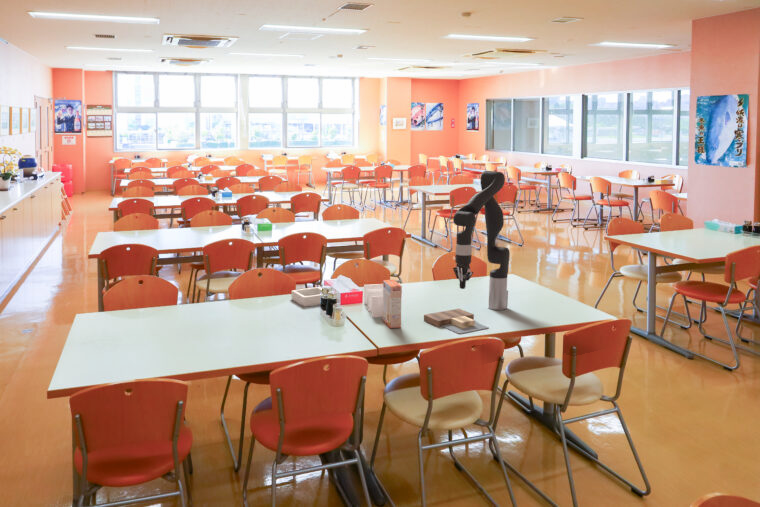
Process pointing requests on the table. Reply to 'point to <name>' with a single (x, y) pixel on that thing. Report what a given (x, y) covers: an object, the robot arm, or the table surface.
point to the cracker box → (392, 303)
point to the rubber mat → (465, 330)
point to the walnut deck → (446, 317)
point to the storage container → (374, 299)
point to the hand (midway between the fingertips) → (462, 288)
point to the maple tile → (462, 322)
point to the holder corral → (307, 296)
